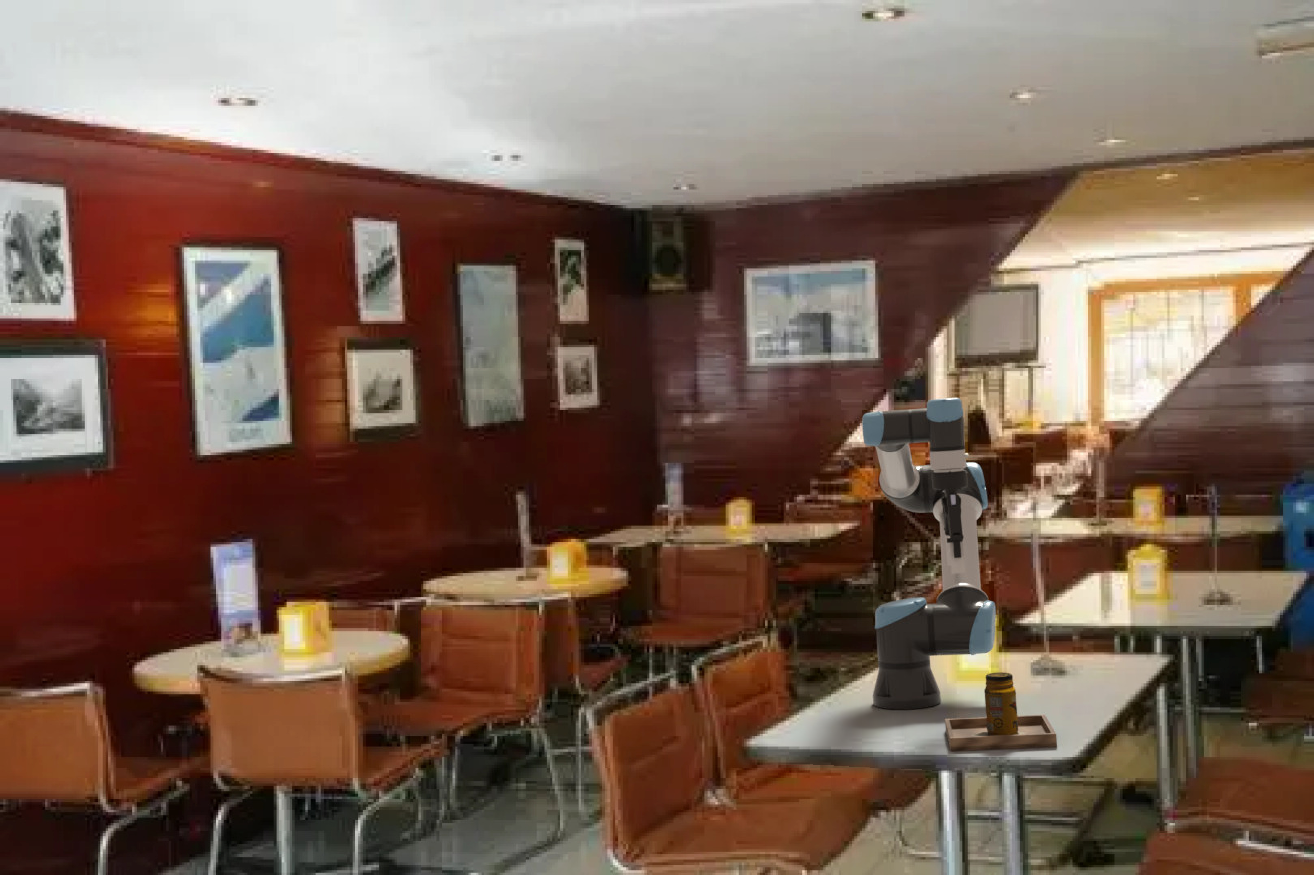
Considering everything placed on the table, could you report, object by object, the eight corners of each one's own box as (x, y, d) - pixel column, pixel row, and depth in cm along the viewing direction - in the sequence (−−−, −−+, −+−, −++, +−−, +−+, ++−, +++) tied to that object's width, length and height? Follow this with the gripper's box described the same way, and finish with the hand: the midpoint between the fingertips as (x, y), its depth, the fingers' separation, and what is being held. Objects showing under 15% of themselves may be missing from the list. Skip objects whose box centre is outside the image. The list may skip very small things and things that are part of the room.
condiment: (1028, 733, 294) (1023, 673, 294) (998, 741, 289) (994, 680, 289) (999, 729, 300) (995, 669, 300) (970, 736, 295) (966, 676, 295)
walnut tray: (950, 751, 287) (949, 738, 287) (945, 731, 305) (944, 719, 305) (1057, 746, 285) (1056, 733, 284) (1045, 726, 302) (1044, 714, 302)
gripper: (971, 472, 305) (979, 575, 306) (962, 466, 330) (969, 561, 331) (934, 474, 306) (942, 577, 307) (928, 468, 331) (934, 563, 332)
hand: (956, 569), depth 319 cm, fingers open, 13 cm apart
